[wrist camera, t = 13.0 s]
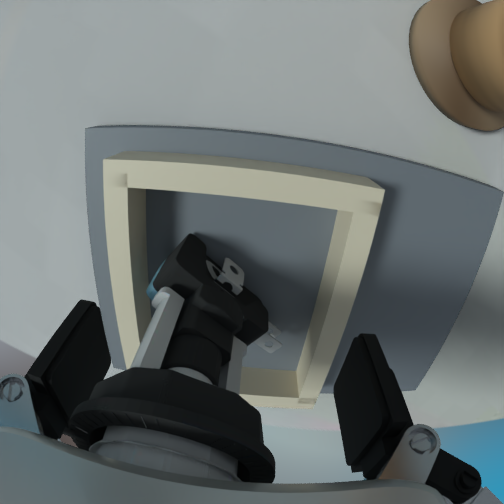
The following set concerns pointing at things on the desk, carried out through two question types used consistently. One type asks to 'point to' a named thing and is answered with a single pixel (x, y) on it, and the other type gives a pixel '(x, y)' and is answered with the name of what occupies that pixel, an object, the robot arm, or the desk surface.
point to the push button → (186, 378)
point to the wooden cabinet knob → (461, 59)
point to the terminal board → (288, 245)
